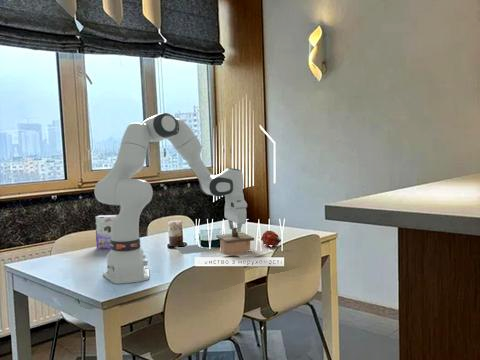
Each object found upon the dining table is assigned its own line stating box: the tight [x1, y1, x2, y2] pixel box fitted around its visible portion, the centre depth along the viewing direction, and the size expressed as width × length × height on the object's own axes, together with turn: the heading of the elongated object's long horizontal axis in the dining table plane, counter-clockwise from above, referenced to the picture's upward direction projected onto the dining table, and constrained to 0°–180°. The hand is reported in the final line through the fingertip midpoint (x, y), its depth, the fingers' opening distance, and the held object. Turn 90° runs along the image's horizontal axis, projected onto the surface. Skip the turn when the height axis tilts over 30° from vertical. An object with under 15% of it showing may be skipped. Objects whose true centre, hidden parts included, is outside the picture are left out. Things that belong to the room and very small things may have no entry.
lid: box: [216, 227, 255, 243], centre depth 235 cm, size 14×14×5 cm
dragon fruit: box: [260, 230, 282, 246], centre depth 245 cm, size 8×8×12 cm
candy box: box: [94, 214, 118, 250], centre depth 247 cm, size 14×6×16 cm, turn 84°
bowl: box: [219, 239, 251, 255], centre depth 236 cm, size 14×14×6 cm
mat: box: [174, 244, 215, 255], centre depth 241 cm, size 16×16×1 cm
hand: (234, 230), depth 235 cm, fingers open, 8 cm apart
